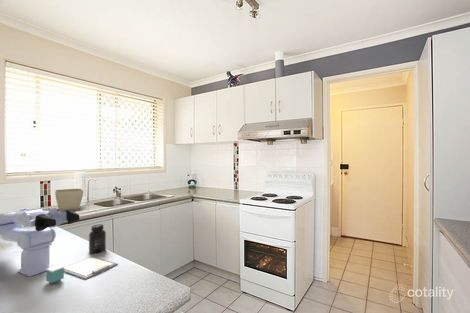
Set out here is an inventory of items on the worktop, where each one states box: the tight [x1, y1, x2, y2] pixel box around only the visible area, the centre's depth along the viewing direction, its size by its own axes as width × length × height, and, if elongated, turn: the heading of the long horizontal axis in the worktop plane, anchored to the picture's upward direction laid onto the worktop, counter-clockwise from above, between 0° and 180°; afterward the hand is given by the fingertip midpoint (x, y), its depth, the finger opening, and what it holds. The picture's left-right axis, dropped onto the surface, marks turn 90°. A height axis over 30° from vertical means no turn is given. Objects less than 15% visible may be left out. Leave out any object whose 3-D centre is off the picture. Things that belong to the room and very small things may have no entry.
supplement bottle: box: [88, 223, 107, 255], centre depth 108 cm, size 7×7×12 cm
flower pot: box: [54, 188, 85, 212], centre depth 199 cm, size 19×19×17 cm
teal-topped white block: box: [45, 264, 65, 285], centre depth 81 cm, size 4×4×5 cm
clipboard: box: [63, 256, 118, 281], centre depth 91 cm, size 16×13×1 cm
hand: (66, 219), depth 81 cm, fingers open, 7 cm apart
